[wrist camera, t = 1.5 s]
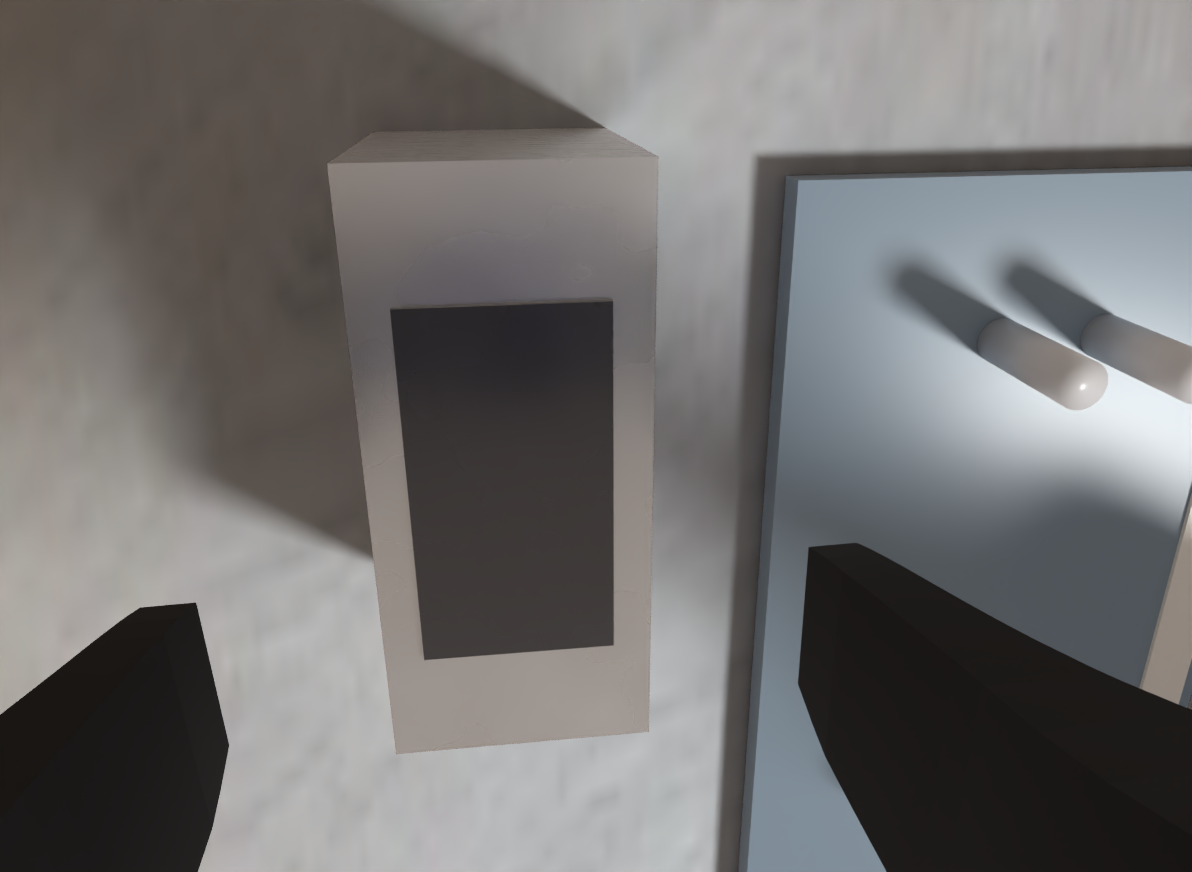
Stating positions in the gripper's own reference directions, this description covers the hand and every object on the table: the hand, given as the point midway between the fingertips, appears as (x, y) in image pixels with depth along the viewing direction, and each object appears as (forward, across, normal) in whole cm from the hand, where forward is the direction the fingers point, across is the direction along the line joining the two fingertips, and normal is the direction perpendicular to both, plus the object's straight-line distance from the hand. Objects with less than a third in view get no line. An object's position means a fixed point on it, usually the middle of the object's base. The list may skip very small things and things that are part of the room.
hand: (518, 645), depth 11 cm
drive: (+10, 0, 0) cm, 10 cm away
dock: (+9, -12, +6) cm, 16 cm away
